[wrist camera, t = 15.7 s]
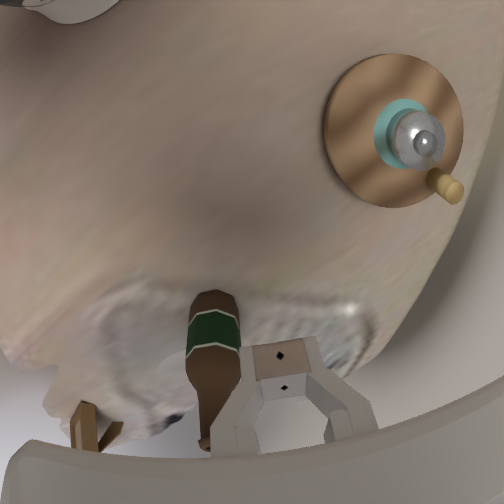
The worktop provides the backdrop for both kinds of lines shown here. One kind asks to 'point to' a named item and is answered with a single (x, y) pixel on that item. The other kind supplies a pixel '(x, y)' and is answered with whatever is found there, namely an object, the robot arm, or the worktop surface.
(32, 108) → the worktop surface
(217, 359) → the beer bottle
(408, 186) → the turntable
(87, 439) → the photo frame
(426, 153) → the cover
